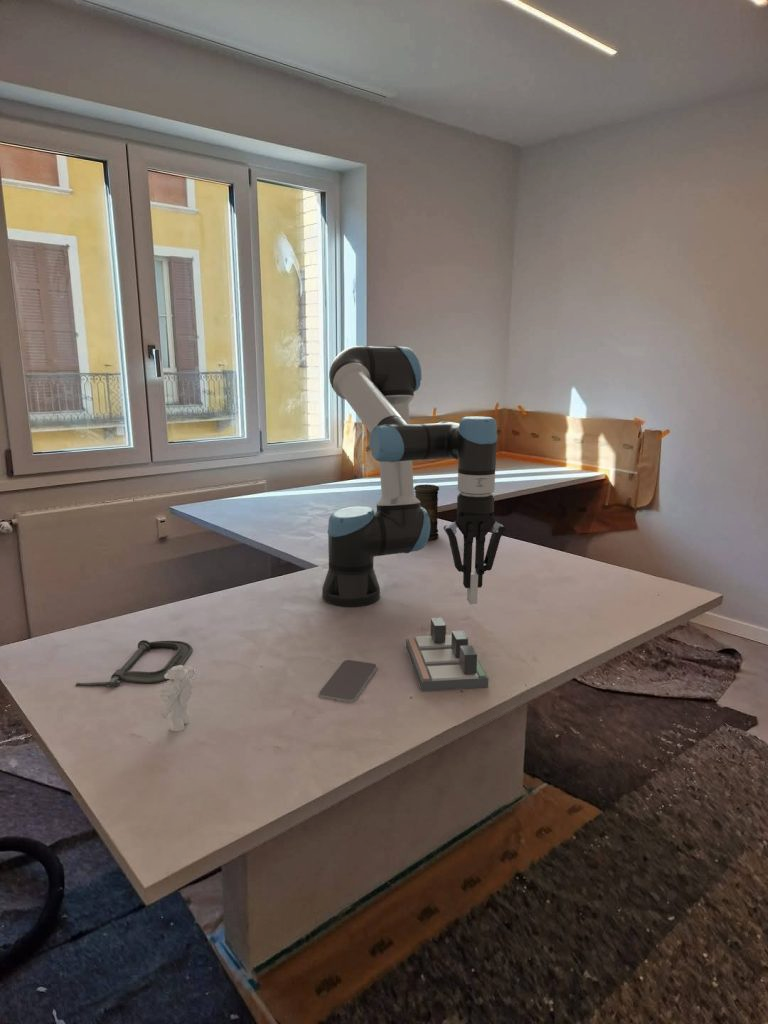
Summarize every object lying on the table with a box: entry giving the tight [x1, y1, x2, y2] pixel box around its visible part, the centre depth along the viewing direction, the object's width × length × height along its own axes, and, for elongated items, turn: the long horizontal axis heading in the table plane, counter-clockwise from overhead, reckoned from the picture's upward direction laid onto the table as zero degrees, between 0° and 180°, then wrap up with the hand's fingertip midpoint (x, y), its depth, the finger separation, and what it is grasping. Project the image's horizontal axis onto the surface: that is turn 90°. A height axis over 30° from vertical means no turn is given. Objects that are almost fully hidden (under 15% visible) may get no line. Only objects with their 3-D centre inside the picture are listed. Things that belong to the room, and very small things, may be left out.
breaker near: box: [459, 644, 478, 674], centre depth 127 cm, size 2×4×4 cm, turn 7°
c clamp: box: [75, 639, 193, 689], centre depth 134 cm, size 20×17×3 cm
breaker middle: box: [451, 630, 469, 658], centre depth 134 cm, size 2×4×4 cm, turn 7°
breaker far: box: [430, 617, 447, 643], centre depth 140 cm, size 2×4×4 cm, turn 7°
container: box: [413, 483, 440, 541], centre depth 224 cm, size 9×9×18 cm
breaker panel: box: [405, 634, 489, 692], centre depth 134 cm, size 13×19×2 cm
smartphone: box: [318, 659, 378, 703], centre depth 128 cm, size 7×1×15 cm
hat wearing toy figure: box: [158, 664, 197, 732], centre depth 111 cm, size 9×4×12 cm, turn 168°
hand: (472, 601), depth 139 cm, fingers closed
